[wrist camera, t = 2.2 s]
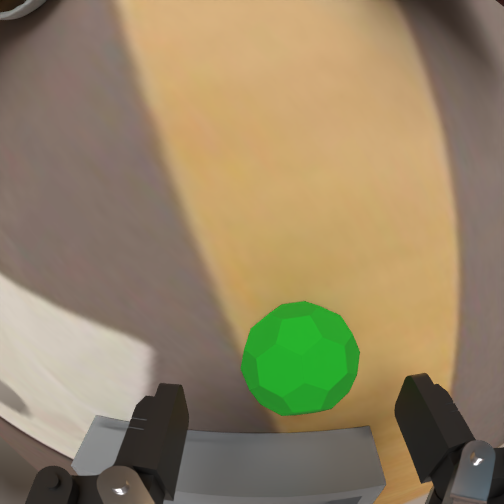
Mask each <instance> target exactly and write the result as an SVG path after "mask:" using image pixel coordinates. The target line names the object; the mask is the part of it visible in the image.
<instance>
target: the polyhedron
mask: <svg viewBox="0 0 504 504" xmlns="http://www.w3.org/2000/svg"><path fill="white" fill-rule="evenodd" d="M359 355H360V351H359V348H358V346H357V343H356V341H355V339H354V336H353V334H352V332H351V331H350V329H349V328H348V326H347V325H346V323H345V322H344V320H343V318H342V317H341V316H340V315H338V314H336V313H334V312H331V311H329V310H327V309H325V308H323V307H321V306H318V305H315V304H312V303H309V302H306V301H303V302H296V303H289V304H282V305H280V306H279V307H277V308H276V309H275V310H273V311H272V312H270V313H269V314H268V315H267V316H265V317H264V318H263V319H262V320H261V321H259V322H258V323H257V324H256V325H255V326H253V327H252V328H251V330H250V333H249V336H248V339H247V342H246V345H245V349H244V353H243V359H242V364H241V371H242V373H243V376H244V378H245V380H246V383H247V385H248V388H249V390H250V391H251V393H252V394H253V395H254V397H255V398H256V399H257V401H258V402H259V403H260V404H261V405H263V406H264V407H266V408H268V409H270V410H272V411H274V412H276V413H277V414H279V415H281V416H289V415H301V414H308V413H315V412H320V411H324V410H329V409H332V408H333V407H334V406H335V405H336V404H337V403H338V402H339V401H340V400H341V399H342V398H343V397H344V396H345V395H346V394H347V393H348V392H349V391H350V389H351V387H352V385H353V382H354V380H355V378H356V376H357V371H358V363H359Z"/></svg>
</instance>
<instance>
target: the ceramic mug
mask: <svg viewBox="0 0 504 504" xmlns="http://www.w3.org/2000/svg"><path fill="white" fill-rule="evenodd" d="M45 1H46V0H26V1H25V3H24V4H22V5H21V6H17V7H16V8H15V9H13V10H11V11H7V12H0V20H11V19H16V18H21V17H23V16H25V15H27V14H29V13H30V12H32V11H34V10H35V9H37V8H38V7H39V6H41V5H42V4H43V3H44V2H45Z"/></svg>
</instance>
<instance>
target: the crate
mask: <svg viewBox="0 0 504 504" xmlns="http://www.w3.org/2000/svg"><path fill="white" fill-rule="evenodd" d="M129 423H130V422H127V421H122V420H116V419H111V418H107V417H102V416H97V415H96V416H95V418H94V420H93V422H92V424H91V426H90V428H89V430H88V432H87V434H86V436H85V438H84V440H83V442H82V444H81V446H80V448H79V450H78V452H77V454H76V456H75V458H74V460H73V462H72V464H71V466H72V467H73V469H74V470H75V471H76V472H77V474H78V475H79V476H88V475H98V474H101V472H102V471H104V470H105V469H107V468H109V467H112V465H113V464H114V462H115V460H116V458H117V455H118V452H119V449H120V447H121V444H122V441H123V439H124V436H125V433H126V431H127V428H128V425H129ZM385 486H386V481H385V477H384V473H383V470H382V466H381V463H380V459H379V456H378V452H377V449H376V446H375V442H374V439H373V436H372V432H371V429H370V426H364V427H357V428H348V429H339V430H329V431H316V432H300V433H224V432H207V431H195V430H188V431H187V435H186V440H185V445H184V450H183V455H182V460H181V465H180V470H179V475H178V480H177V485H176V490H175V495H174V501H168V500H164V502H163V504H373V502H374V501H375V500H376V498H377V497H378V496H379V494H380V493H381V491H382V490H383V489H384V487H385Z"/></svg>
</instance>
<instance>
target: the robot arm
mask: <svg viewBox="0 0 504 504" xmlns="http://www.w3.org/2000/svg"><path fill="white" fill-rule="evenodd" d="M395 417H396V420H397V423H398V425H399V427H400V430H401V432H402V435H403V437H404V440H405V442H406V445H407V447H408V450H409V453H410V455H411V458H412V460H413V463H414V466H415V468H416V471H417V474H418V476H419V479H420V482H421V484H422V483H425V482H428V481H432V482H433V486H432V488H431V490H430V492H429V495H428V497H427V500H426V502H425V504H504V447H503V448H492V446H491V445H490V444H488V443H487V442H485V441H482V440H476V439H475V438H474V436H473V434H472V433H471V431H470V429H469V427H468V426H467V424H466V422H465V420H464V419H463V417H462V415H461V413H460V412H459V411H458V408H457V407H456V405H455V403H453V400H452V398H451V397H450V395H449V394H448V392H447V391H446V390H445V389H443V388H442V387H441V386H440V385H439V384H433V382H432V380H431V379H430V377H429V376H428V374H426V373H422V374H416V375H411V376H407V377H406V378H405V380H404V383H403V385H402V388H401V391H400V393H399V396H398V398H397V401H396V404H395ZM188 424H189V414H188V409H187V404H186V400H185V395H184V390H183V387H182V385H178V384H166V383H160V384H159V386H158V389H157V392H156V395H155V397H153V396H145V397H144V398H143V399H142V400H141V401H140V402H139V403H138V404H137V405H136V407H135V410H134V412H133V415H132V419H131V420H130V423H129V425H128V428H127V431H126V433H125V436H124V439H123V441H122V444H121V447H120V449H119V452H118V455H117V458H116V460H115V462H114V464H113V465H112V467H109V468H107V469H105V470H104V471H102V472H101V474H98V475H88V476H72V475H70V474H69V473H68V472H67V471H66V470H65V469H63V468H61V467H58V466H48V467H45V468H43V469H42V470H40V471H39V472H38V474H37V475H36V477H35V480H34V482H33V485H32V487H31V490H30V492H29V495H28V497H27V500H26V503H25V504H163V502H164V500H168V501H174V495H175V490H176V485H177V480H178V475H179V470H180V465H181V460H182V455H183V450H184V445H185V440H186V435H187V431H188Z"/></svg>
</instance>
